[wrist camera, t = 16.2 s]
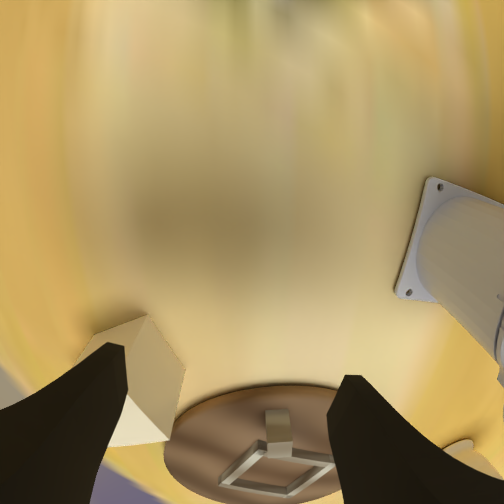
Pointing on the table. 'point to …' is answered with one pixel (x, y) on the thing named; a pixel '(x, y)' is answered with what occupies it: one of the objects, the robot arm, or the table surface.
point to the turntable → (256, 446)
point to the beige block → (143, 382)
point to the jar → (471, 457)
